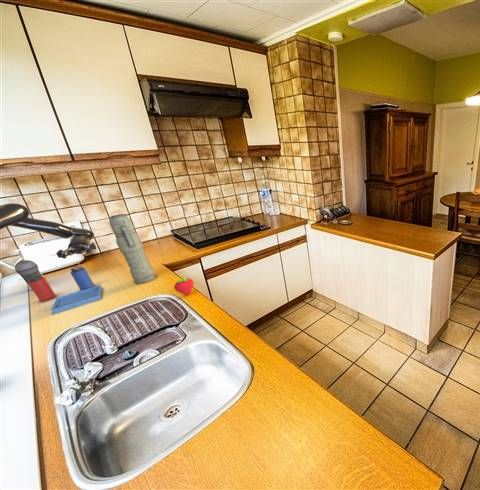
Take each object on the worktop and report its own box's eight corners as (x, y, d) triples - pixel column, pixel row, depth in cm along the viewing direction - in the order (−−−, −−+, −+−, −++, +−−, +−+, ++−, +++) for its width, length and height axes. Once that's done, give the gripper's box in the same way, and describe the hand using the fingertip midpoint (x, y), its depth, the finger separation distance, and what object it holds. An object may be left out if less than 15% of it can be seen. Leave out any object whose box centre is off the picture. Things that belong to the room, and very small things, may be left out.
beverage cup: (25, 290, 135) (2, 255, 127) (45, 283, 142) (24, 249, 134) (32, 292, 133) (8, 256, 125) (52, 285, 139) (31, 250, 131)
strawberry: (176, 296, 122) (169, 277, 118) (194, 288, 127) (188, 270, 123) (180, 300, 119) (172, 281, 115) (198, 293, 124) (192, 274, 120)
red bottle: (39, 303, 123) (24, 281, 118) (41, 298, 127) (27, 277, 122) (55, 298, 126) (41, 276, 121) (57, 294, 130) (43, 273, 125)
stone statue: (140, 286, 133) (109, 219, 119) (131, 280, 138) (100, 216, 125) (160, 278, 139) (133, 214, 125) (150, 273, 145) (124, 211, 131)
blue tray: (53, 314, 115) (51, 310, 114) (58, 301, 124) (56, 297, 123) (100, 299, 123) (98, 295, 123) (102, 288, 133) (100, 285, 132)
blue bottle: (80, 292, 130) (67, 271, 125) (81, 288, 134) (69, 267, 129) (94, 288, 133) (83, 267, 128) (95, 284, 137) (84, 264, 132)
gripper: (57, 242, 141) (51, 251, 129) (93, 235, 149) (91, 243, 138) (64, 255, 144) (59, 265, 132) (99, 247, 152) (97, 256, 141)
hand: (75, 254), depth 135 cm, fingers open, 8 cm apart
